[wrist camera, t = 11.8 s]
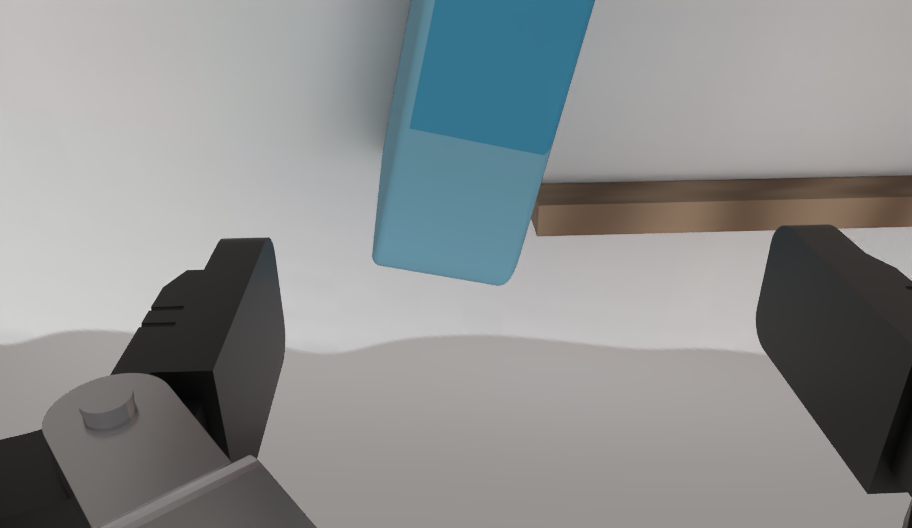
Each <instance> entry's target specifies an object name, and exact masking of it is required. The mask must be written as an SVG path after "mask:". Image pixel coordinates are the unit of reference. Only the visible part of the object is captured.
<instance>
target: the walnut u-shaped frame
mask: <svg viewBox="0 0 912 528" xmlns="http://www.w3.org/2000/svg"><path fill="white" fill-rule="evenodd" d="M531 219H532V222H533V225H534V228H535V231H536V234H537V236H565V235H604V234H644V233H683V232H722V231H761V230H777V229H778V228H779V227H780V226H783V225H819V224H830V225H833V226H834V227H836V228H837V229H839V228H878V227H912V176H880V177H836V178H791V179H747V180H703V181H658V182H614V183H569V184H541V185H540V188H539V192H538V195H537V198H536V202H535V205H534V209H533V212H532V215H531Z"/></svg>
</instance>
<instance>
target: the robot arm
mask: <svg viewBox="0 0 912 528" xmlns="http://www.w3.org/2000/svg"><path fill="white" fill-rule="evenodd" d="M756 328H757V334H758V338H759V341H760V344H761V346H762V348H763V349H764V351H765V352H766V353H767V355H768V356H769V358H770V359H771V360H772V362H773V363H774V364H775V366H776V367H777V369H778V370H779V371H780V373H781V374H782V375H783V377H784V378H785V380H786V381H787V383H788V384H789V385H790V387H791V388H792V389H793V391H794V392H795V394H796V395H797V396H798V398H799V399H800V401H801V402H802V403H803V405H804V406H805V408H806V409H807V410H808V412H809V413H810V414H811V416H812V417H813V419H814V420H815V422H816V423H817V424H818V425H819V427H820V428H821V430H822V431H823V433H824V434H825V435H826V437H827V438H828V440H829V441H830V442H831V444H832V445H833V447H834V448H835V449H836V451H837V452H838V453H839V455H840V456H841V458H842V459H843V460H844V462H845V463H846V465H847V466H848V467H849V469H850V470H851V472H852V473H853V474H854V476H855V477H856V478H857V480H858V481H859V483H860V484H861V485H862V487H863V488H864V490H865V491H866V492H867V494H877V493H901V492H902V493H903V492H908V493H909V494H910V496H911V497H912V281H911V280H910V279H909V278H907V277H906V276H905V275H904V274H903V273H901V272H900V271H899V270H898V269H897V268H895V267H893V266H891V265H889V264H886V263H884V262H882V261H880V260H878V259H876V258H874V257H872V256H870V255H868V254H866V253H865V252H864V251H863V250H861V249H860V248H859V247H858V246H857V245H856V244H854V243H853V242H852V241H851V240H850V239H849V238H847V237H846V236H845V235H844V234H843V233H842V232H840V231H839V230H838V229H837V228H836V227H834V226H833V225H830V224H819V225H783V226H780V227H779V228H778V229H777V230H776V232H775V233H774V235H773V238H772V241H771V245H770V250H769V255H768V259H767V264H766V269H765V273H764V278H763V283H762V287H761V292H760V297H759V301H758V306H757V312H756ZM284 352H285V325H284V317H283V310H282V302H281V295H280V288H279V280H278V273H277V265H276V258H275V251H274V247H273V243H272V241H271V239H270V238H233V239H221V240H220V241H219V242H218V244H217V246H216V248H215V250H214V252H213V254H212V256H211V257H210V259H209V261H208V263H207V265H206V267H205V269H204V270H187V271H185V272H184V273H183V274H181V275H180V276H178V277H177V278H176V279H174V280H173V281H171V282H170V283H169V284H167V285H166V286H164V287H163V288H162V290H161V292H160V293H159V295H158V297H157V298H156V300H155V302H154V303H153V305H152V307H151V311H149V312H148V313H147V315H146V317H145V318H144V320H143V322H142V327H139V328H138V330H137V331H136V333H135V335H134V336H133V338H132V340H131V342H130V343H129V345H128V346H127V348H126V350H125V352H124V353H123V355H122V356H121V358H120V360H119V361H118V363H117V365H116V367H115V368H114V370H113V371H112V373H111V375H110V376H106V377H101V378H98V379H95V380H92V381H89V382H87V383H85V384H82V385H80V386H78V387H76V388H75V389H73V390H71V391H69V392H68V393H66V394H65V395H63V396H62V397H61V398H60V399H58V400H57V401H56V402H55V403H54V404H53V405H52V406H51V407H50V409H49V410H48V411H47V413H46V415H45V416H44V419H43V422H42V429H41V430H38V431H34V432H31V433H27V434H23V435H19V436H15V437H10V438H6V439H2V440H0V528H316V526H315V525H314V524H313V523H312V522H311V521H310V519H309V518H308V517H307V516H306V515H305V513H304V512H303V511H302V510H301V509H300V508H299V507H298V505H297V504H296V503H295V502H294V501H293V500H292V499H291V497H290V496H289V495H288V494H287V493H286V491H285V490H284V489H283V488H282V487H281V486H280V485H279V483H278V482H277V481H276V480H275V479H274V478H273V476H272V475H271V474H270V473H269V472H268V471H267V469H266V468H265V467H264V466H263V465H262V464H261V463H260V462H259V461H258V460H257V457H258V453H259V449H260V445H261V442H262V438H263V435H264V431H265V427H266V424H267V420H268V416H269V412H270V409H271V405H272V401H273V398H274V394H275V390H276V386H277V382H278V379H279V375H280V372H281V368H282V364H283V360H284ZM902 528H912V500H911V502H910V505H909V508H908V510H907V513H906V516H905V518H904V522H903V527H902Z"/></svg>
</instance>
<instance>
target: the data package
mask: <svg viewBox="0 0 912 528" xmlns="http://www.w3.org/2000/svg"><path fill="white" fill-rule="evenodd" d="M594 2H595V0H411V2H410V8H409V13H408V18H407V24H406V29H405V34H404V40H403V45H402V51H401V56H400V61H399V67H398V72H397V77H396V83H395V88H394V93H393V99H392V104H391V109H390V115H389V120H388V125H387V131H386V137H385V142H384V149H383V155H382V163H381V173H380V183H379V193H378V203H377V213H376V223H375V233H374V243H373V253H372V258H373V261H374V262H375V263H376V264H377V265H380V266H386V267H392V268H398V269H404V270H410V271H415V272H421V273H427V274H433V275H439V276H445V277H450V278H456V279H462V280H468V281H474V282H480V283H486V284H491V285H497V286H500V285H503V284H505V283H506V282H508V280H509V279H510V278H511V276H512V274H513V272H514V270H515V268H516V265H517V262H518V259H519V256H520V253H521V249H522V246H523V243H524V239H525V236H526V232H527V229H528V226H529V222H530V219H531V215H532V212H533V209H534V205H535V202H536V198H537V195H538V192H539V188H540V185H541V182H542V178H543V175H544V171H545V168H546V165H547V161H548V158H549V154H550V151H551V148H552V144H553V141H554V137H555V134H556V131H557V127H558V124H559V121H560V117H561V114H562V110H563V107H564V104H565V100H566V97H567V93H568V90H569V87H570V83H571V80H572V76H573V73H574V70H575V66H576V63H577V59H578V56H579V53H580V49H581V46H582V43H583V39H584V36H585V32H586V29H587V26H588V22H589V19H590V15H591V12H592V9H593V5H594Z"/></svg>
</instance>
